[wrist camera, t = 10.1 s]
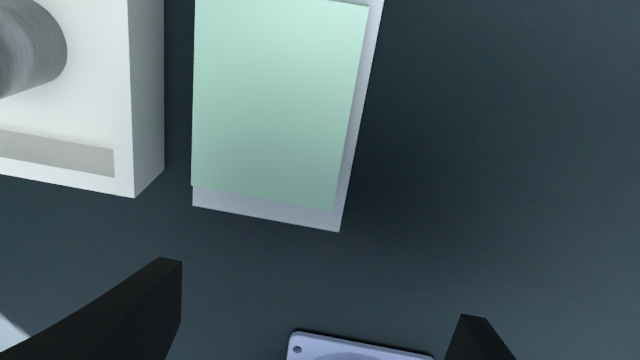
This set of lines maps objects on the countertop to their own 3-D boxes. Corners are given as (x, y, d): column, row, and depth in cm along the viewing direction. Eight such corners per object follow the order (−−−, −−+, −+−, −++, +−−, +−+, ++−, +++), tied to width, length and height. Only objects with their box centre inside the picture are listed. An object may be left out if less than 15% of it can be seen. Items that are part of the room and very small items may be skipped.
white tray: (164, 169, 22) (134, 198, 19) (-69, 127, 22) (-130, 149, 19) (163, -55, 17) (124, -60, 15) (-124, -103, 18) (-213, -115, 15)
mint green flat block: (334, 199, 20) (332, 211, 19) (199, 175, 20) (190, 185, 19) (369, 4, 16) (369, 7, 15) (205, -23, 16) (196, -22, 15)
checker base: (340, 223, 22) (338, 236, 21) (198, 197, 22) (189, 209, 21) (393, -54, 17) (395, -55, 16) (207, -84, 17) (196, -88, 16)
